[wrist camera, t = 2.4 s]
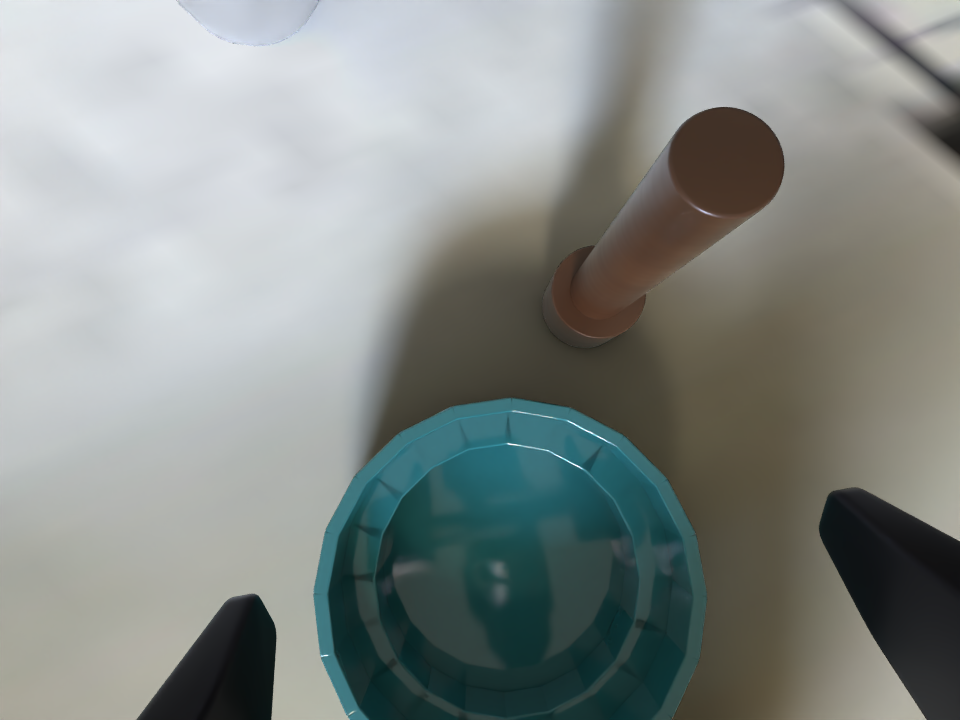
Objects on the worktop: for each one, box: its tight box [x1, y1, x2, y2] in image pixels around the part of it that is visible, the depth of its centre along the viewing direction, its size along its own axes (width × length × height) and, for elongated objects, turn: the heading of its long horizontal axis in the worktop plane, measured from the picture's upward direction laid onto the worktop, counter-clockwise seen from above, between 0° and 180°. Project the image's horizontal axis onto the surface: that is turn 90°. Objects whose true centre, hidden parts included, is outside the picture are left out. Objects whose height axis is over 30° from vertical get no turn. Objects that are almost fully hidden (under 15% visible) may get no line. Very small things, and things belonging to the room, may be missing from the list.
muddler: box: [542, 107, 784, 348], centre depth 18 cm, size 4×4×14 cm
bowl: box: [313, 397, 707, 720], centre depth 21 cm, size 13×13×4 cm
